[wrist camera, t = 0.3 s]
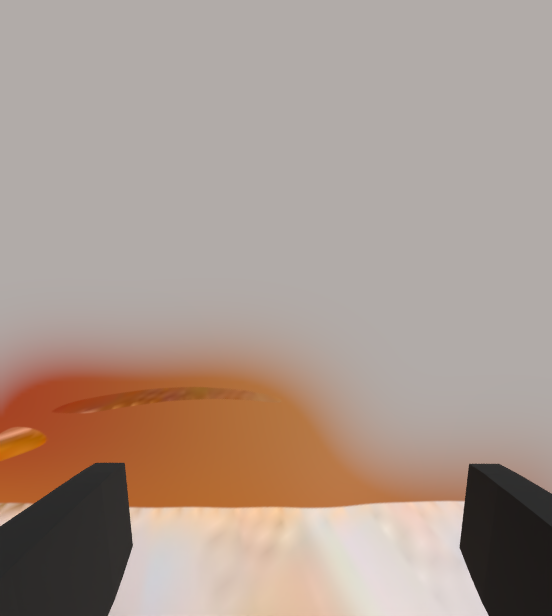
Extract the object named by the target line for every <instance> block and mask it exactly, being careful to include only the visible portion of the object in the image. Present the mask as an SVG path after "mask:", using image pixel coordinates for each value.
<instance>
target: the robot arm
mask: <svg viewBox="0 0 552 616" xmlns="http://www.w3.org/2000/svg"><path fill="white" fill-rule="evenodd" d="M132 546H133V544H132V533H131V523H130V513H129V502H128V492H127V483H126V472H125V464H124V463H95V464H93V465H92V466H90V467H88V468H86V469H85V470H83V471H82V472H80V473H79V474H77V475H76V476H74V477H72V478H71V479H70V480H68V481H67V482H65V483H64V484H62V485H61V486H59V487H58V488H56V489H55V490H53V491H52V492H50V493H49V494H48V495H46V496H45V497H43V498H42V499H40V500H39V501H37V502H36V503H34V504H33V505H31V506H30V507H28V508H27V509H25V510H24V511H22V512H21V513H19V514H18V515H16V516H15V517H14V518H12V519H11V520H9V521H8V522H6V523H5V524H3V525H2V526H0V616H108V614H109V612H110V609H111V607H112V605H113V602H114V600H115V597H116V594H117V592H118V589H119V586H120V583H121V580H122V577H123V574H124V571H125V568H126V565H127V562H128V559H129V556H130V553H131V550H132ZM460 550H461V552H462V555H463V557H464V560H465V562H466V565H467V568H468V570H469V573H470V575H471V578H472V580H473V582H474V585H475V587H476V589H477V592H478V594H479V596H480V599H481V601H482V603H483V605H484V607H485V609H486V611H487V613H488V615H489V616H552V494H551V493H549V492H548V491H546V490H544V489H542V488H541V487H539V486H538V485H536V484H534V483H532V482H531V481H529V480H527V479H526V478H524V477H522V476H521V475H519V474H517V473H515V472H513V471H511V470H510V469H508V468H506V467H504V466H502V465H500V464H469V471H468V479H467V487H466V496H465V505H464V514H463V522H462V531H461V540H460Z"/></svg>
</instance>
